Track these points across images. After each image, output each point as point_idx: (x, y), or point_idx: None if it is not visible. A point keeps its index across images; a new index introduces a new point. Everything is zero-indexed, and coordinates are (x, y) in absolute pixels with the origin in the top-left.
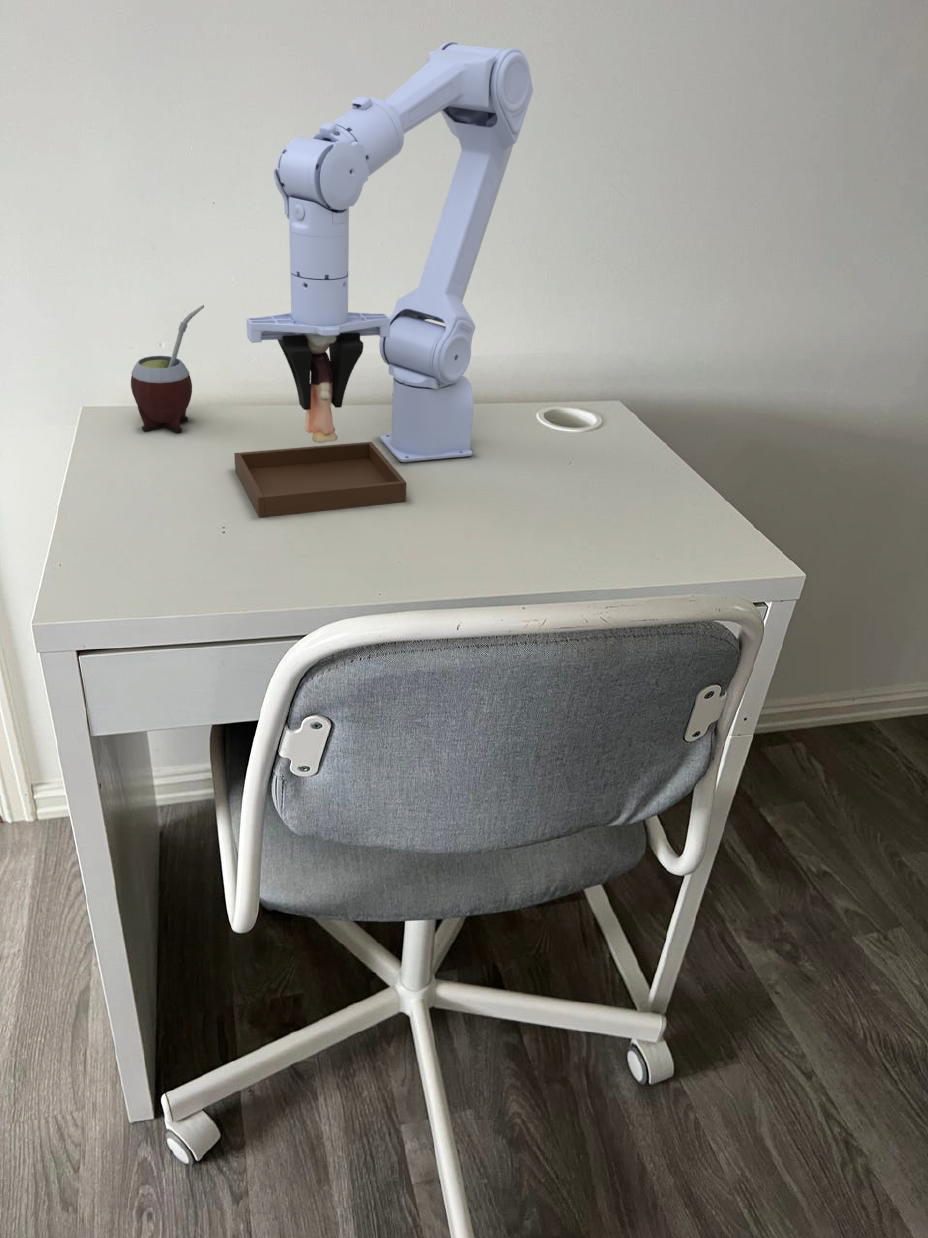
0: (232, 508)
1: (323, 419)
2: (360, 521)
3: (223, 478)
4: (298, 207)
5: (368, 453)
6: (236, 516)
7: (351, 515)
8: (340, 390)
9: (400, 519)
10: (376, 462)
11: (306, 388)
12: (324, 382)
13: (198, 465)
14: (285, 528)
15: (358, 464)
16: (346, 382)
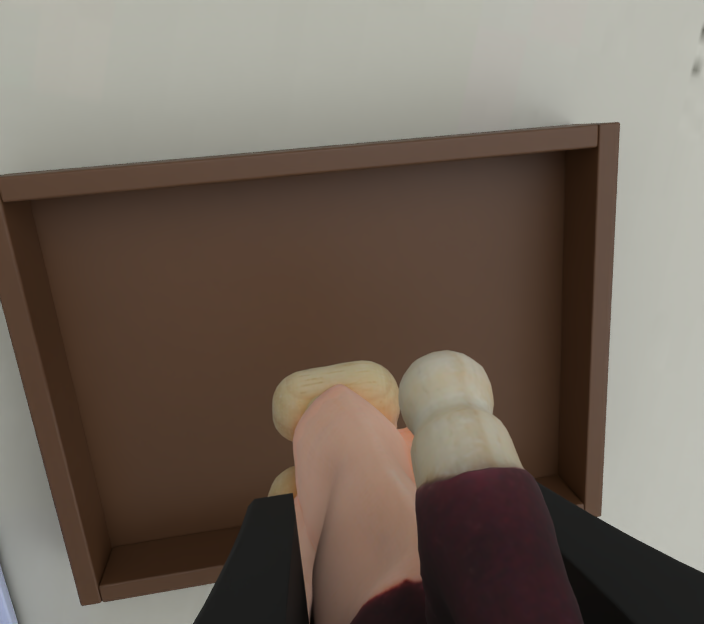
0: (636, 214)
1: (372, 418)
2: (226, 23)
3: (608, 435)
4: None
5: (107, 556)
6: (639, 150)
7: (252, 86)
8: (264, 562)
9: (53, 8)
10: (86, 474)
11: (576, 527)
12: (494, 466)
13: (653, 526)
14: (510, 19)
15: (158, 493)
16: (205, 615)
